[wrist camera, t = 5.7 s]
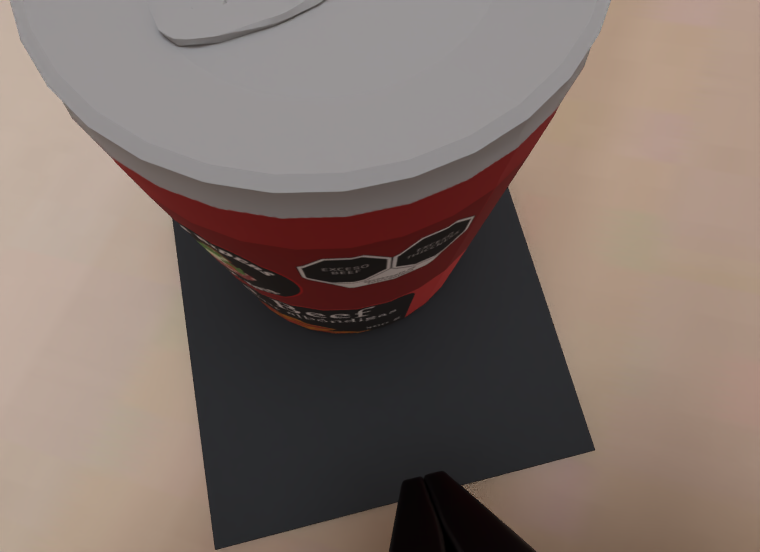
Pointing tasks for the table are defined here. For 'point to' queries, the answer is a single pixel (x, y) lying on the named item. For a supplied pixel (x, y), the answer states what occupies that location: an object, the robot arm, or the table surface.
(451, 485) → the robot arm
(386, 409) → the mat
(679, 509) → the table surface
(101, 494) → the table surface
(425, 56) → the canned food
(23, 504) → the table surface
